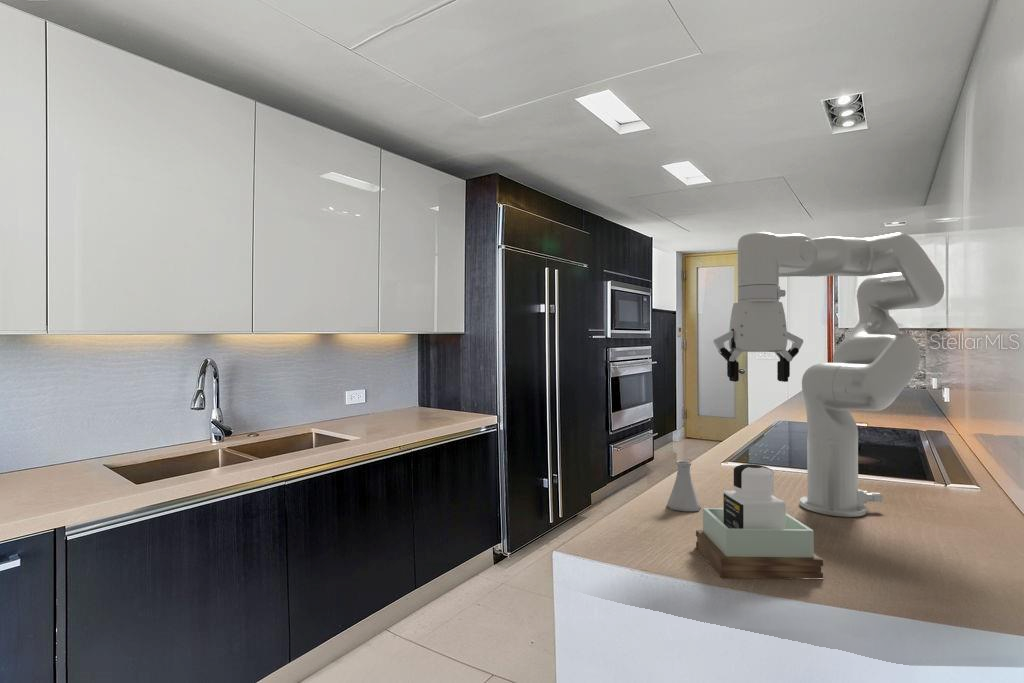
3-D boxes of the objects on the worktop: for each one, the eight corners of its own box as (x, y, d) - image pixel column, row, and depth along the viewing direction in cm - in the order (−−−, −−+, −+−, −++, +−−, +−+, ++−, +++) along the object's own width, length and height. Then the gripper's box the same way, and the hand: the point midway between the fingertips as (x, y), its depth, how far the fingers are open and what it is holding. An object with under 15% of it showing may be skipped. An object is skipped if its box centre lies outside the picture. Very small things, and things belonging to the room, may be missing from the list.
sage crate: (779, 532, 94) (779, 508, 94) (813, 557, 83) (813, 530, 83) (703, 531, 95) (702, 508, 95) (726, 556, 84) (726, 529, 84)
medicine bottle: (722, 532, 93) (722, 461, 93) (763, 531, 93) (763, 461, 93) (742, 548, 85) (742, 471, 86) (786, 547, 86) (786, 471, 86)
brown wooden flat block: (783, 548, 95) (783, 531, 95) (823, 579, 82) (823, 559, 82) (695, 547, 96) (695, 530, 96) (721, 578, 83) (721, 558, 83)
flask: (703, 513, 115) (703, 466, 115) (667, 511, 116) (667, 464, 116) (698, 504, 122) (698, 459, 122) (665, 502, 123) (665, 458, 123)
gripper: (792, 297, 113) (792, 380, 112) (708, 297, 113) (708, 380, 113) (811, 294, 105) (811, 382, 105) (721, 294, 106) (721, 382, 105)
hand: (758, 381), depth 109 cm, fingers open, 9 cm apart
